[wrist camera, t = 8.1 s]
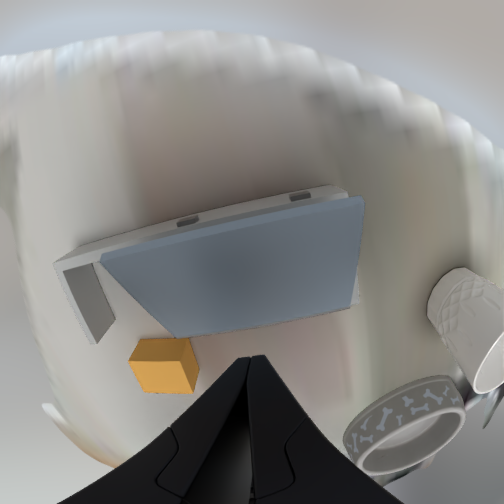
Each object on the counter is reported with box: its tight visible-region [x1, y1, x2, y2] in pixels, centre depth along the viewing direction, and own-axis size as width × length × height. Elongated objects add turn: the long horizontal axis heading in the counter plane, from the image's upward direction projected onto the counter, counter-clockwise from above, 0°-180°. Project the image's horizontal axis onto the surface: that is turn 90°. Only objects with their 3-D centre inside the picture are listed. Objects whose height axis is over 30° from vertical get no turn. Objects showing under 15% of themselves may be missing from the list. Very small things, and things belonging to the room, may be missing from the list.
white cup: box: [427, 267, 504, 394], centre depth 18 cm, size 8×8×10 cm
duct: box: [53, 185, 359, 344], centre depth 20 cm, size 8×22×4 cm, turn 103°
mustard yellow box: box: [128, 338, 199, 394], centre depth 23 cm, size 4×5×4 cm
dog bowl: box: [343, 375, 466, 475], centre depth 27 cm, size 17×18×5 cm
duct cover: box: [99, 195, 365, 339], centre depth 15 cm, size 9×12×1 cm
